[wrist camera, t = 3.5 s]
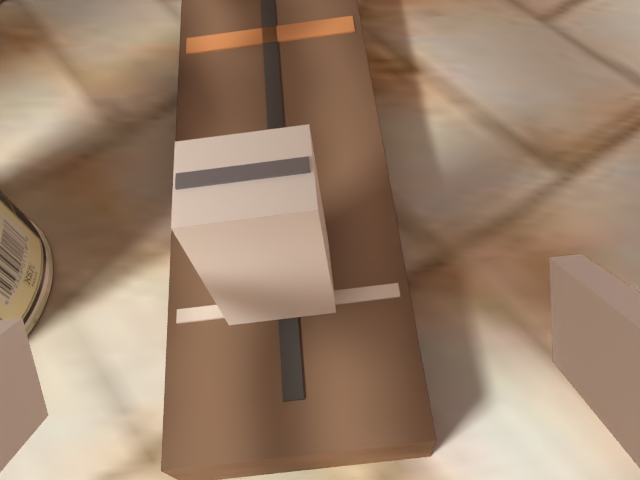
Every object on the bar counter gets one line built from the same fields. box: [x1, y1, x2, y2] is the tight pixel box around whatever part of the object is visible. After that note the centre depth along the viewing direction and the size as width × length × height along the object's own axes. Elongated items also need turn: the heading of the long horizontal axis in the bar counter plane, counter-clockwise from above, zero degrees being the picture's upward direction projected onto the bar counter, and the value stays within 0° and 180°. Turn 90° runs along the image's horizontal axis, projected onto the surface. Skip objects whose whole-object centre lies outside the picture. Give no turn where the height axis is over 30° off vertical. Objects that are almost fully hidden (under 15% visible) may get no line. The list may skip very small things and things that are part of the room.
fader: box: [171, 124, 336, 325], centre depth 20 cm, size 4×3×9 cm
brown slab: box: [161, 0, 436, 480], centre depth 30 cm, size 10×28×3 cm, turn 5°
